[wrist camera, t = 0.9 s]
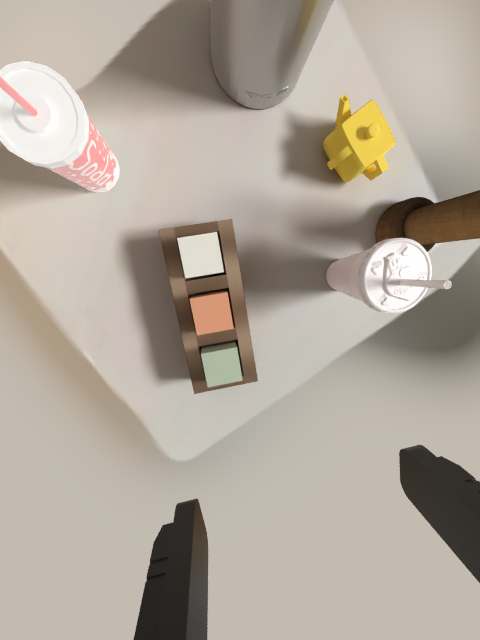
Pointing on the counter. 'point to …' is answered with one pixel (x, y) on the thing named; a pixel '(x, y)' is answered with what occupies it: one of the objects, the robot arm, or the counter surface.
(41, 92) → the beverage cup
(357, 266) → the smoothie
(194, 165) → the counter surface
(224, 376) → the sage key
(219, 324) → the terracotta key
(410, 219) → the mortar and pestle
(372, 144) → the teapot
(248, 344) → the key panel
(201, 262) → the offwhite key
